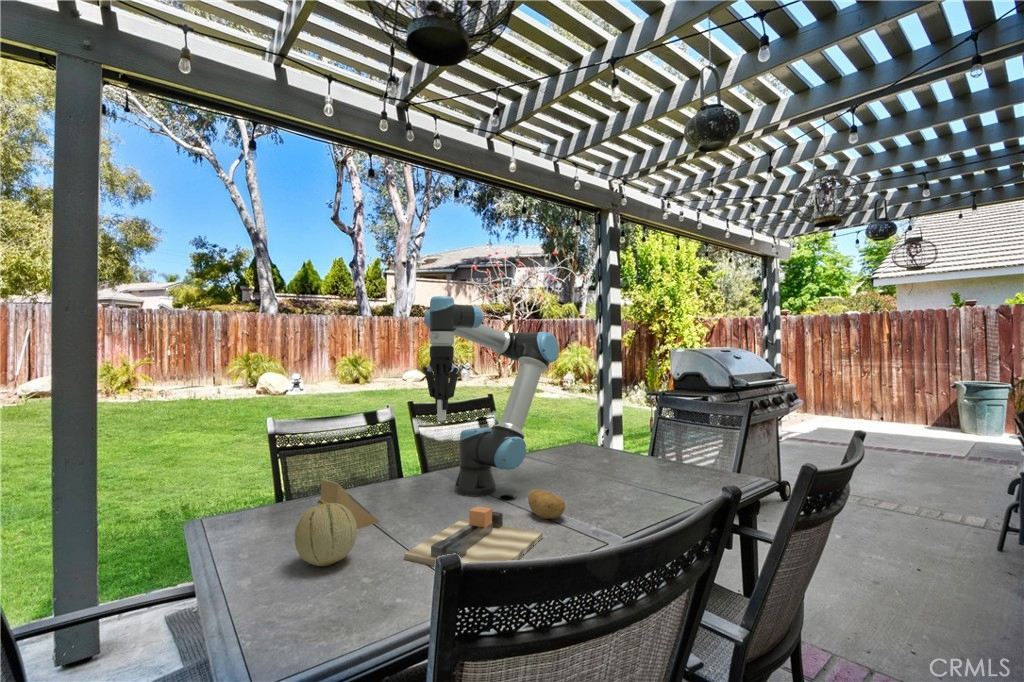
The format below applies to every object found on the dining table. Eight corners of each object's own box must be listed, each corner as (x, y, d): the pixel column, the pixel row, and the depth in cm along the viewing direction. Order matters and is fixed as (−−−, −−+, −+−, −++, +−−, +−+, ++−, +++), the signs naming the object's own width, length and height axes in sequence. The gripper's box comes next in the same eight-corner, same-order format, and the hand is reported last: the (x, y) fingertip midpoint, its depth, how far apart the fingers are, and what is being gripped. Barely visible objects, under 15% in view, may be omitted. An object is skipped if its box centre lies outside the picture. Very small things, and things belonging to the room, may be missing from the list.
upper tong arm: (486, 526, 141) (486, 516, 141) (499, 528, 140) (499, 518, 140) (442, 558, 120) (442, 546, 120) (457, 561, 118) (457, 548, 118)
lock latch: (476, 520, 139) (476, 506, 140) (492, 523, 137) (492, 508, 137) (469, 524, 136) (469, 510, 136) (485, 527, 134) (485, 512, 134)
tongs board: (462, 523, 148) (462, 506, 148) (542, 537, 137) (542, 519, 137) (404, 559, 123) (404, 538, 123) (496, 580, 112) (496, 557, 112)
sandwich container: (381, 521, 151) (382, 472, 151) (337, 537, 138) (337, 483, 139) (364, 516, 156) (365, 468, 156) (320, 530, 144) (320, 478, 144)
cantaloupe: (329, 581, 112) (330, 514, 112) (279, 571, 117) (280, 507, 117) (369, 555, 125) (370, 496, 126) (323, 547, 131) (324, 490, 131)
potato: (549, 527, 145) (549, 500, 145) (521, 514, 157) (521, 489, 157) (573, 521, 151) (573, 494, 151) (544, 508, 162) (544, 484, 162)
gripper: (417, 345, 154) (417, 420, 154) (452, 345, 149) (452, 423, 148) (431, 345, 161) (431, 417, 161) (465, 345, 156) (465, 420, 155)
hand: (441, 420), depth 155 cm, fingers closed
